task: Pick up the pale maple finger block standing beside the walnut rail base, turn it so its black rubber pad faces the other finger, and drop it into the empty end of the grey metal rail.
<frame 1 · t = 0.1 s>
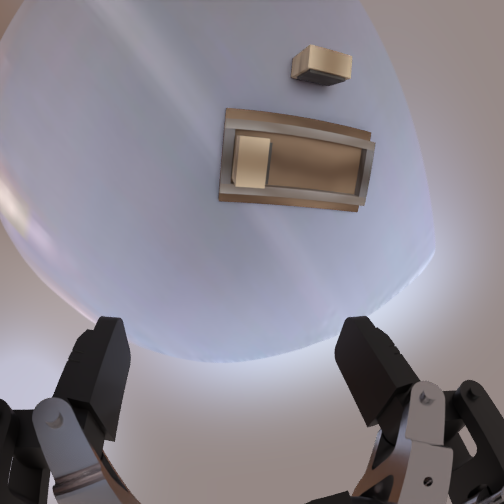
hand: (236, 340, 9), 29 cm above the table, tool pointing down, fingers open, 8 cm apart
maple finger: (310, 71, 30), on the table
rail base: (296, 160, 35), on the table
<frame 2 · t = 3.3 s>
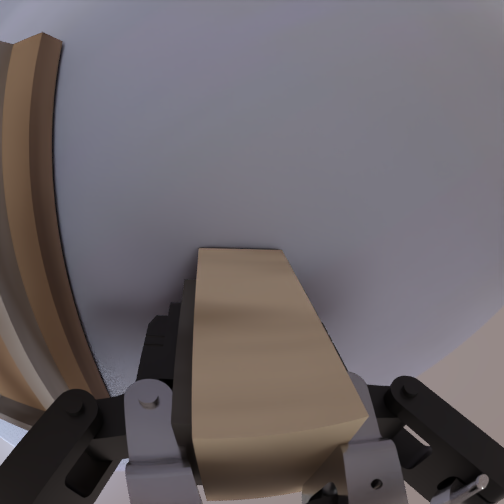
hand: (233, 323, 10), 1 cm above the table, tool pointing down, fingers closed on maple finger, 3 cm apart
maple finger: (236, 308, 11), on the table, touching gripper
when the fingers open (4 cm above the table, at t = 7.9 s): maple finger stays where it is, resting on rail base.
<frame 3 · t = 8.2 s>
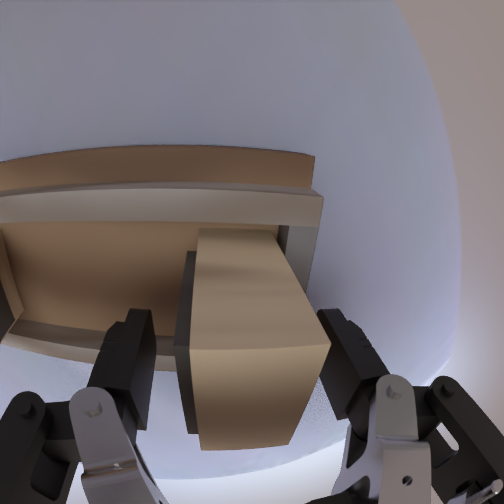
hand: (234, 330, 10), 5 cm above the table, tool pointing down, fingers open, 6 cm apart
maple finger: (231, 281, 13), point 1 cm above the table, touching rail base
rail base: (100, 263, 13), on the table
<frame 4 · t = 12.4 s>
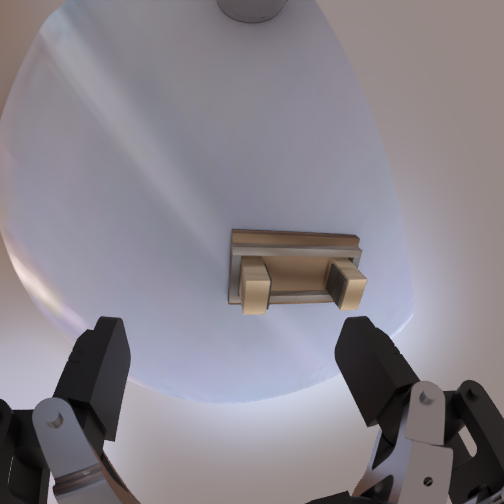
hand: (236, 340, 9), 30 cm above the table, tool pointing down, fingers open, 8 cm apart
maple finger: (335, 271, 43), point 1 cm above the table, touching rail base
rail base: (292, 267, 44), on the table
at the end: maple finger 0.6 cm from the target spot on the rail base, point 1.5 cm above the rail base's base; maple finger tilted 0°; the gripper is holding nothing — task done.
